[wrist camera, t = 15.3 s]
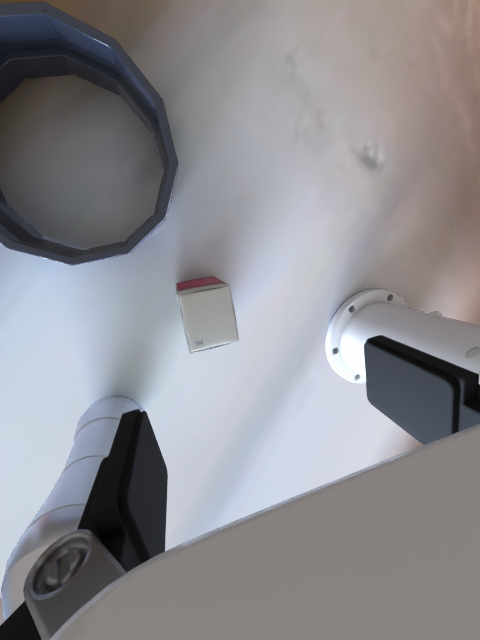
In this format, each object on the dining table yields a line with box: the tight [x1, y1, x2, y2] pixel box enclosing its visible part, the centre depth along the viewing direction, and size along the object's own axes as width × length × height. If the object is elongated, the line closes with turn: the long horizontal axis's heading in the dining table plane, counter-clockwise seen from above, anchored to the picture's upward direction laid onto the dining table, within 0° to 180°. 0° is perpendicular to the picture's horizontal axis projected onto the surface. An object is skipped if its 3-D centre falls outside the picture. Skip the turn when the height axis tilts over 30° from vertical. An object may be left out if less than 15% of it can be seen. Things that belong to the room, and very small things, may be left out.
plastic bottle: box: [1, 396, 143, 622], centre depth 20 cm, size 6×7×20 cm
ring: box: [0, 2, 178, 265], centre depth 20 cm, size 15×15×5 cm
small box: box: [176, 276, 239, 353], centre depth 24 cm, size 5×4×8 cm
